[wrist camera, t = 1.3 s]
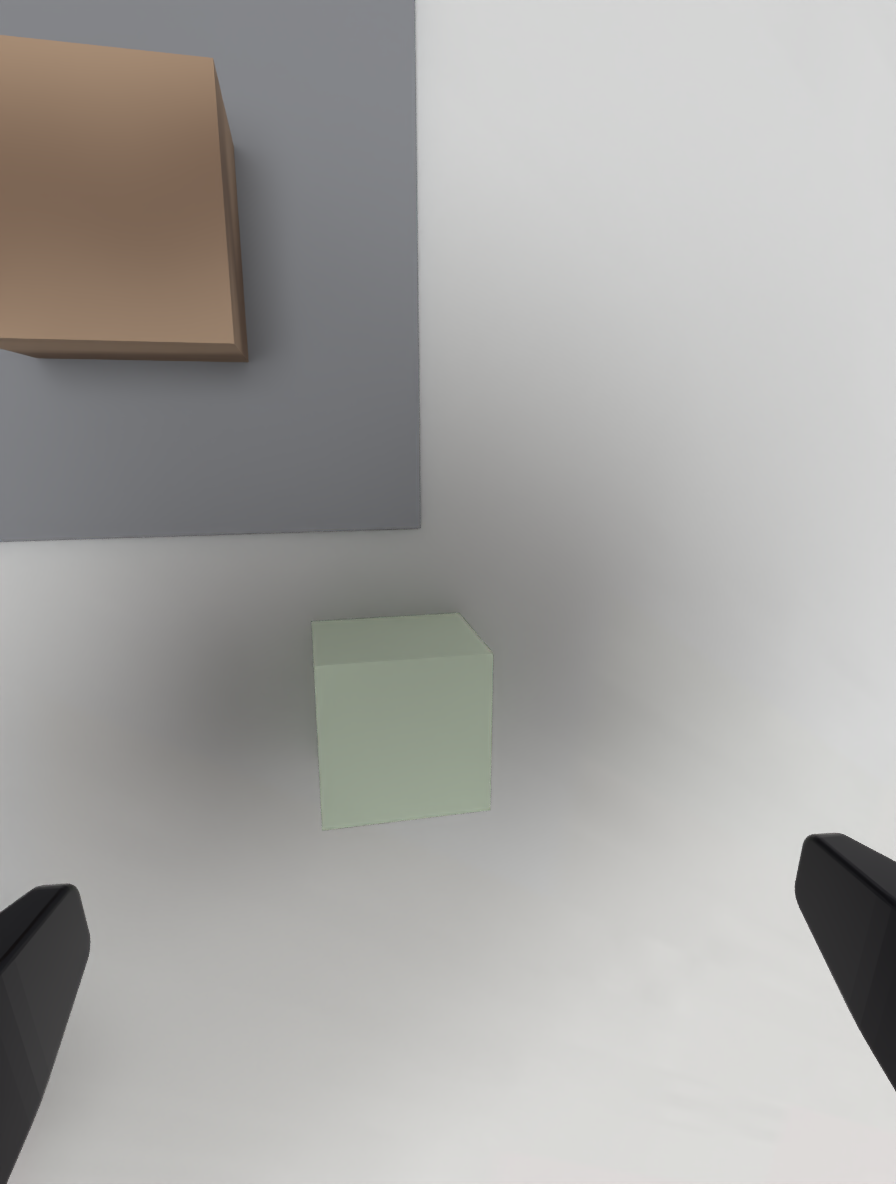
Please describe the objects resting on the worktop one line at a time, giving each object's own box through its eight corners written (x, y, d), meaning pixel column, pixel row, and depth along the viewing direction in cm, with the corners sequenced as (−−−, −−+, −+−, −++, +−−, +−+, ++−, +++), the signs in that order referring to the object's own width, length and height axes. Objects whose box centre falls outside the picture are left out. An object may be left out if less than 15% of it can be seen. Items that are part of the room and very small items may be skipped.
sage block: (457, 743, 22) (490, 810, 18) (318, 757, 21) (322, 830, 17) (458, 611, 21) (493, 653, 17) (311, 620, 20) (313, 666, 16)
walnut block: (248, 362, 17) (233, 343, 13) (37, 358, 16) (-43, 337, 12) (233, 145, 16) (212, 57, 12) (4, 126, 15) (-96, 25, 11)
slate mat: (418, 526, 20) (420, 528, 19) (-127, 543, 17) (-137, 546, 16) (411, -40, 16) (413, -51, 16) (-271, -139, 13) (-288, -155, 13)
